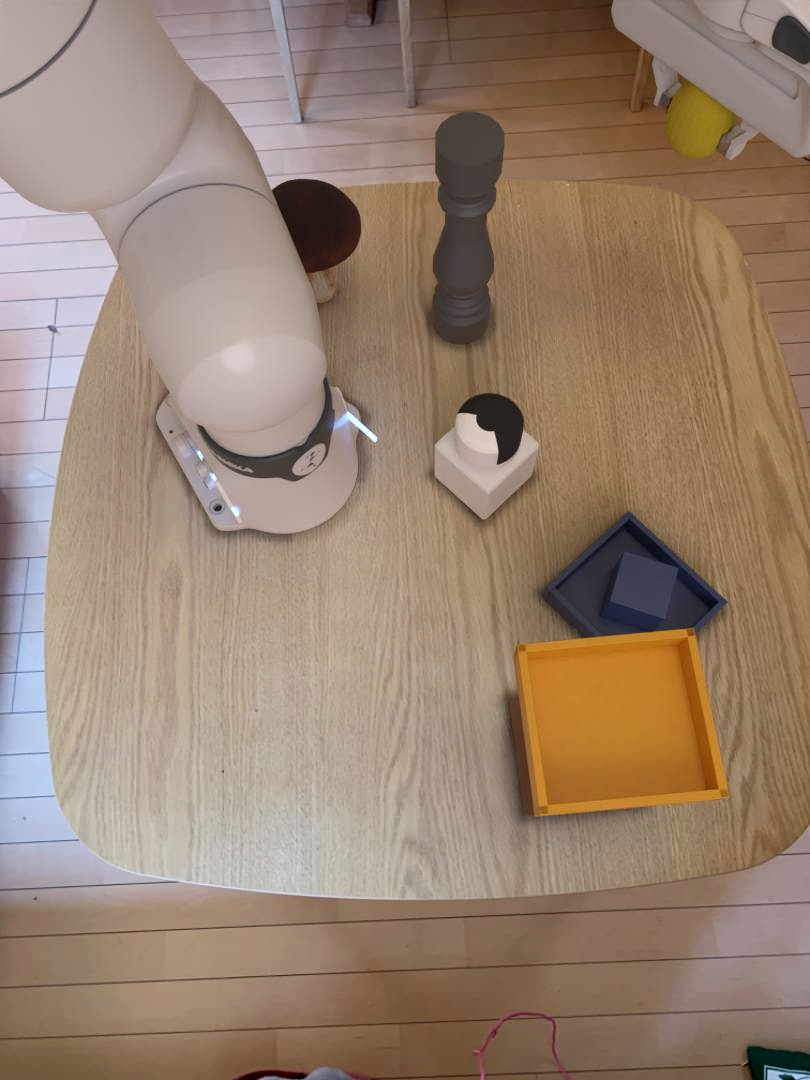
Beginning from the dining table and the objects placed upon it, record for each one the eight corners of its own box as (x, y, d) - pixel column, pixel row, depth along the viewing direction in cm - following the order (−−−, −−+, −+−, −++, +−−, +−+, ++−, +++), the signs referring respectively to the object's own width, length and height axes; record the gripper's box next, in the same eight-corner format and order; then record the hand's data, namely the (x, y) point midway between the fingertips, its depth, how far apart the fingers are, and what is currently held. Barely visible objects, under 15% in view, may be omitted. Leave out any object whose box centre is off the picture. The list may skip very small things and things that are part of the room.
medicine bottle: (481, 431, 87) (488, 368, 76) (533, 475, 85) (548, 418, 74) (432, 475, 86) (432, 419, 75) (484, 522, 84) (491, 471, 73)
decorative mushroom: (356, 244, 96) (343, 140, 82) (380, 323, 92) (370, 228, 78) (261, 266, 95) (232, 165, 81) (282, 347, 92) (254, 256, 77)
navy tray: (541, 596, 81) (545, 586, 78) (622, 522, 83) (629, 510, 81) (636, 690, 78) (644, 684, 75) (718, 610, 80) (728, 601, 77)
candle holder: (453, 286, 94) (459, 97, 70) (500, 314, 92) (523, 130, 69) (420, 326, 92) (416, 146, 68) (467, 354, 91) (480, 180, 67)
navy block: (599, 615, 80) (609, 600, 75) (613, 567, 81) (624, 550, 77) (651, 632, 79) (665, 618, 74) (664, 584, 81) (678, 567, 76)
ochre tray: (511, 824, 74) (540, 815, 54) (495, 696, 78) (517, 644, 58) (650, 811, 74) (729, 797, 54) (628, 684, 78) (694, 627, 58)
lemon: (717, 183, 72) (751, 105, 65) (651, 174, 73) (678, 95, 65) (721, 134, 74) (755, 53, 67) (658, 125, 74) (684, 43, 67)
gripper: (614, -89, 60) (580, 80, 73) (850, 69, 54) (767, 220, 67) (675, -129, 61) (630, 43, 74) (910, 20, 56) (817, 178, 69)
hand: (697, 128), depth 71 cm, fingers closed on lemon, 5 cm apart
